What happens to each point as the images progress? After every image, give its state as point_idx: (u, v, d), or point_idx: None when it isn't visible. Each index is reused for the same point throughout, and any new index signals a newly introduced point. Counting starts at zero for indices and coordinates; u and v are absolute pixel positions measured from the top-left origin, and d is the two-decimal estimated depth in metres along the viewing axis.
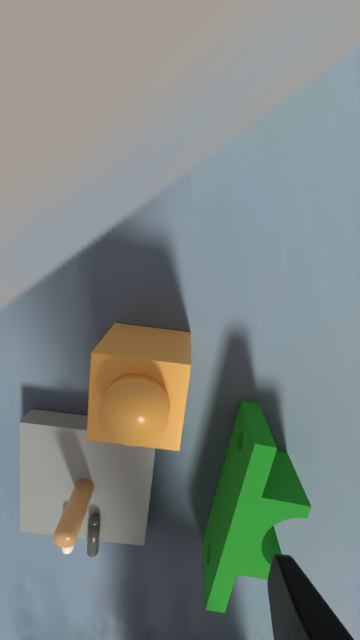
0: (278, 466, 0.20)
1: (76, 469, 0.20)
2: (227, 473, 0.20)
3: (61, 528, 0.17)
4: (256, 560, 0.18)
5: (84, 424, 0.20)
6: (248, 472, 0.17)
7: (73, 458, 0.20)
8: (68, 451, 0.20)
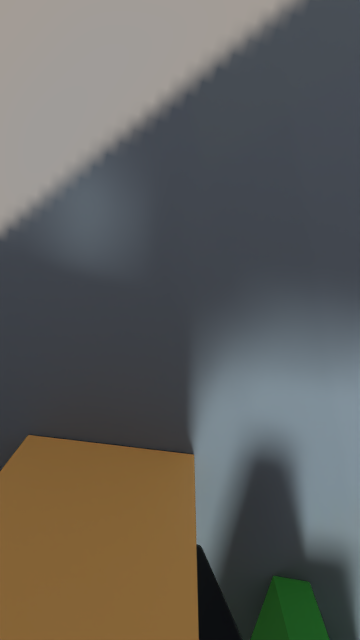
0: None
1: None
2: None
3: None
4: None
5: None
6: None
7: None
8: None
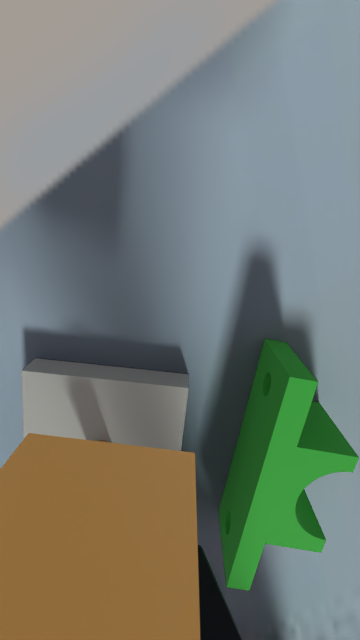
0: (312, 415, 0.16)
1: (91, 428, 0.17)
2: (249, 426, 0.17)
3: None
4: (289, 526, 0.15)
5: (100, 373, 0.17)
6: (281, 414, 0.13)
7: (88, 414, 0.17)
8: (81, 406, 0.16)
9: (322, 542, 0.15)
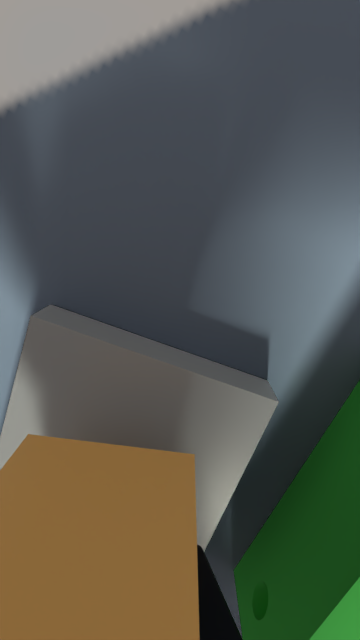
0: None
1: (113, 428, 0.11)
2: (330, 470, 0.11)
3: None
4: None
5: (148, 349, 0.11)
6: None
7: (115, 407, 0.11)
8: (109, 392, 0.11)
9: None
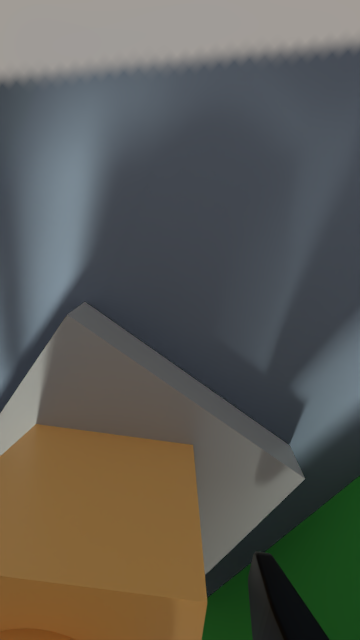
0: None
1: None
2: (322, 553, 0.11)
3: None
4: None
5: (182, 383, 0.09)
6: None
7: None
8: (127, 420, 0.09)
9: None
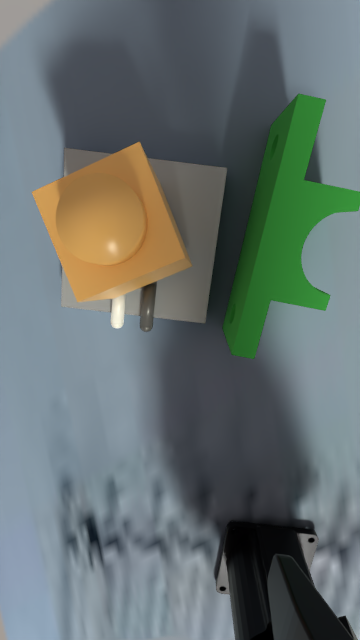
0: None
1: None
2: (255, 210, 0.17)
3: None
4: (294, 278, 0.15)
5: None
6: (289, 139, 0.14)
7: None
8: None
9: (326, 298, 0.15)
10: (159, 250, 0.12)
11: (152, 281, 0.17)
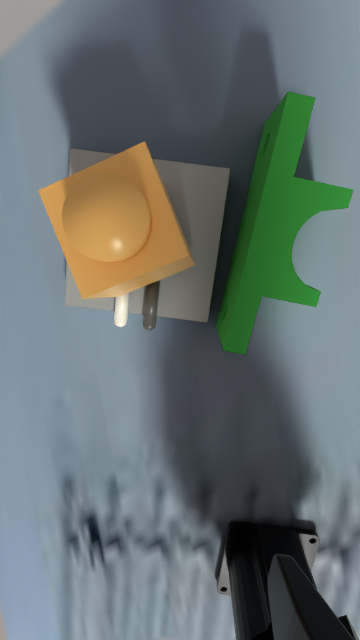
0: None
1: None
2: (248, 207, 0.17)
3: None
4: (285, 274, 0.15)
5: None
6: (279, 137, 0.14)
7: None
8: None
9: (317, 294, 0.15)
10: (163, 248, 0.12)
11: (155, 280, 0.17)
